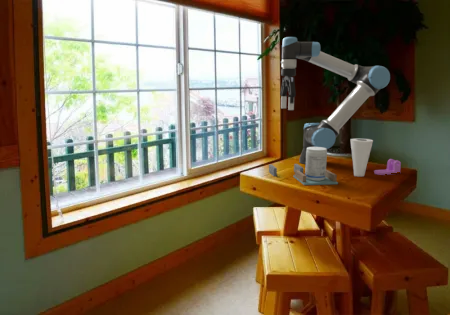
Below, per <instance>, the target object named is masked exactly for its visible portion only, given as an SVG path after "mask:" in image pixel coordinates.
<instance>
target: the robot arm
mask: <svg viewBox="0 0 450 315" xmlns="http://www.w3.org/2000/svg"><path fill="white" fill-rule="evenodd" d="M297 59H298V60H303V61H306V62H308V63H311V64H312V65H316V66H318V67H321V68H323V69H326V70H328V71H330V72H332V73H334V74H337V75H340V76H341V77H344V78H347V80H348V81H349V82H352V83H354V84H356V86H355V87H354V88H353V89H352V91H351V92H350V93H349V94H348V95H347V96H346V98H344V100H343V101H342V102H341V103H340V104H339V105H338V106H337V107H336V109H335V110H334V111H333V112H332V113H331V115H329V117H327V119H322V120H321V121H320V122H308V123H307V122H306V123H304V126H303V140H302V141H303V144H302V151H301V153H300V156H299V159H298V160H299V163H300V164H304V165H306V151H307V148H308V147H323V148H326V149H327V150H329V149H330V148H332V147H333V146H334V145H335V142H336V138H337V137H338V136H339V135H340V130H341V129H342V127H343V126H344V125H345V124H346V123H347V122H348V121H349V119H351V117H352V116H353V115H354V114H355V113H356V112H357V111H358V110H359V108H360V107H362V106H363V104H364V103H365V102H366V101H367V99H369V97H373V96H375V95H376V94H377V93H378V92H379V91H380V90H381V89H384V88H385V87H387V86H388V84H389V83H390V80H391V73H390V71H389V69H388V68H387V67H385V66H382V65H373V66H362V65H359V64H352V63H350V62H348V61H344V60H342V59H340V58H337V57H335V56H332V55H331V54H328V53H325V52H323V51H322V50H321V44H320V42H318V41H298V38H297V37H296V36H286V37H284V38H283V39H282V45H281V61H280V64H281V70H280V72H281V73H280V75H281V76H282V82H281V87H280V93H279V95H280V96H281V98H280V109H287V108H288V109H287V110H288V111H294V110H295V97H296V95H297V92H296V82H295V76H297V73H296V72H297V69H296V68H297ZM287 93H288V94H287ZM287 97H288V98H287ZM287 99H288V106H287Z"/></svg>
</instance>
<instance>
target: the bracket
mask: <svg viewBox="0 0 450 315" xmlns="http://www.w3.org/2000/svg"><path fill="white" fill-rule="evenodd" d="M401 165H402V162H401V161H400V160H398V159H396V160H395V159H393V158H389V159H388V160H387V163H386V169H375V170H373V172H374V173H373V174H374V175H378V176H379V175H381V176H386V175H385V174H387V175H392V174H391V173H397V172H400V173H401V170H402V169H401Z"/></svg>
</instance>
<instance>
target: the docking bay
mask: <svg viewBox="0 0 450 315" xmlns="http://www.w3.org/2000/svg"><path fill="white" fill-rule="evenodd" d="M337 177H338V176H337V174H336V173H334V172H331V171H330V170H328V169H326V177H325V179H324V180H322V181H313V180H308V179H306V175H305V173H304V172H303V173H301V172H300V171H299V170H295V172H294V174H293V178H294V179H296V180H297V181H298V182H299V183H301V184H302V185H303V186H318V185H319V186H321V185H322V186H323V185H339V182H338V181H337Z"/></svg>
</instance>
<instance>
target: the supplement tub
mask: <svg viewBox="0 0 450 315" xmlns="http://www.w3.org/2000/svg"><path fill="white" fill-rule="evenodd" d="M327 157H328V149H326V148H323V147H308V148H307V151H306V164H305V169H304V171H305V172H304V175H306V179H308V180H313V181H322V180H324V179H325V177H326V170H327Z"/></svg>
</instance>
